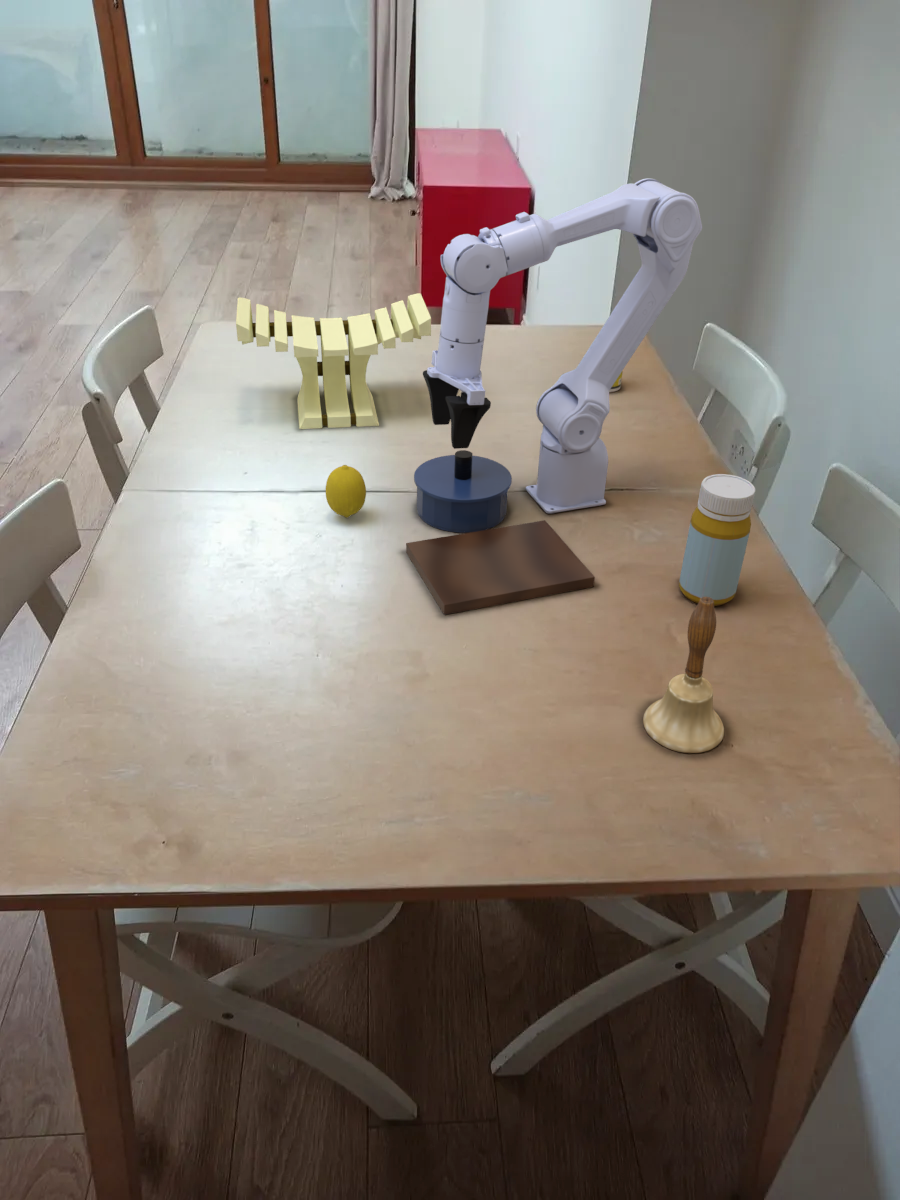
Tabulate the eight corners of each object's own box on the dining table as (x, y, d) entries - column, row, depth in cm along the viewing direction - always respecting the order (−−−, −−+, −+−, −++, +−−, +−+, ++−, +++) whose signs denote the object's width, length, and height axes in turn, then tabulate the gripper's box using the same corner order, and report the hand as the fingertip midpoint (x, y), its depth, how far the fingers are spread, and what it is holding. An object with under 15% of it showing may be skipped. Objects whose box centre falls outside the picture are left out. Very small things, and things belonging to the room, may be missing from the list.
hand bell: (672, 762, 97) (699, 633, 88) (627, 711, 103) (648, 586, 94) (740, 741, 99) (773, 613, 90) (692, 692, 106) (719, 569, 97)
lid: (489, 456, 143) (491, 427, 140) (526, 498, 132) (529, 468, 130) (401, 468, 139) (401, 439, 136) (432, 513, 128) (432, 483, 126)
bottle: (737, 583, 124) (761, 478, 115) (731, 613, 118) (756, 504, 110) (682, 572, 126) (701, 468, 117) (674, 601, 120) (694, 494, 112)
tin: (486, 484, 145) (488, 454, 142) (520, 524, 135) (522, 493, 132) (405, 496, 141) (405, 465, 138) (434, 538, 131) (434, 507, 128)
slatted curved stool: (417, 387, 175) (418, 287, 165) (429, 423, 162) (431, 318, 152) (248, 393, 171) (238, 291, 161) (246, 431, 158) (235, 323, 148)
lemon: (360, 529, 133) (358, 476, 128) (321, 524, 134) (318, 472, 129) (371, 510, 137) (370, 458, 133) (333, 505, 138) (331, 454, 134)
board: (544, 529, 134) (545, 520, 133) (593, 586, 122) (594, 576, 122) (406, 552, 128) (406, 542, 127) (444, 615, 117) (444, 604, 116)
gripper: (414, 317, 127) (405, 414, 135) (452, 356, 116) (440, 460, 124) (464, 317, 130) (453, 413, 137) (505, 355, 119) (491, 457, 126)
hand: (450, 435), depth 131 cm, fingers open, 7 cm apart
